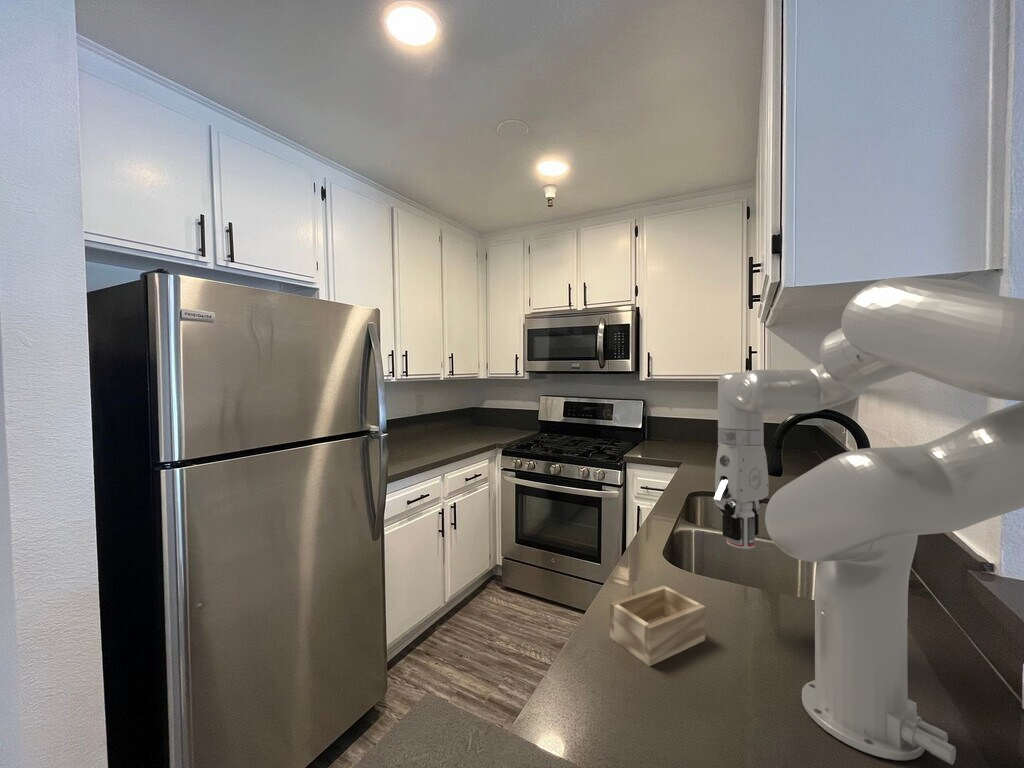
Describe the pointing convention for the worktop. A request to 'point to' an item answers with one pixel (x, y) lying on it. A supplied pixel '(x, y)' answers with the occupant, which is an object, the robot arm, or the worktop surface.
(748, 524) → the pill bottle
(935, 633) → the worktop surface
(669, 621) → the open wooden box
